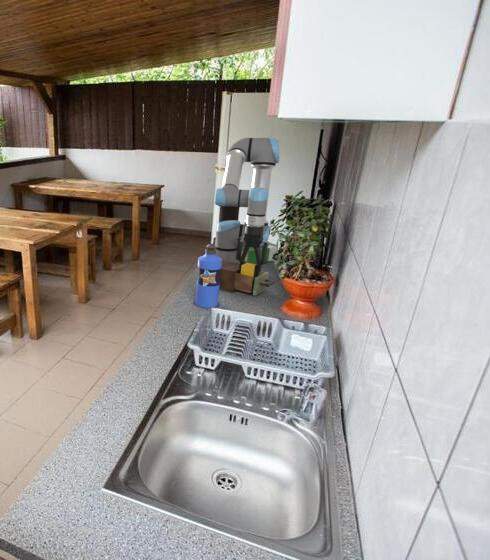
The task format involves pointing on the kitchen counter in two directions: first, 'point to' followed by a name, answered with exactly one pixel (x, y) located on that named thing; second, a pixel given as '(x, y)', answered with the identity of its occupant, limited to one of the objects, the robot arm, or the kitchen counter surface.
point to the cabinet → (228, 275)
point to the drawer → (252, 282)
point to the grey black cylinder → (227, 215)
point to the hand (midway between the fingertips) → (248, 277)
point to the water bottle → (208, 278)
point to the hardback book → (270, 251)
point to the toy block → (248, 269)
